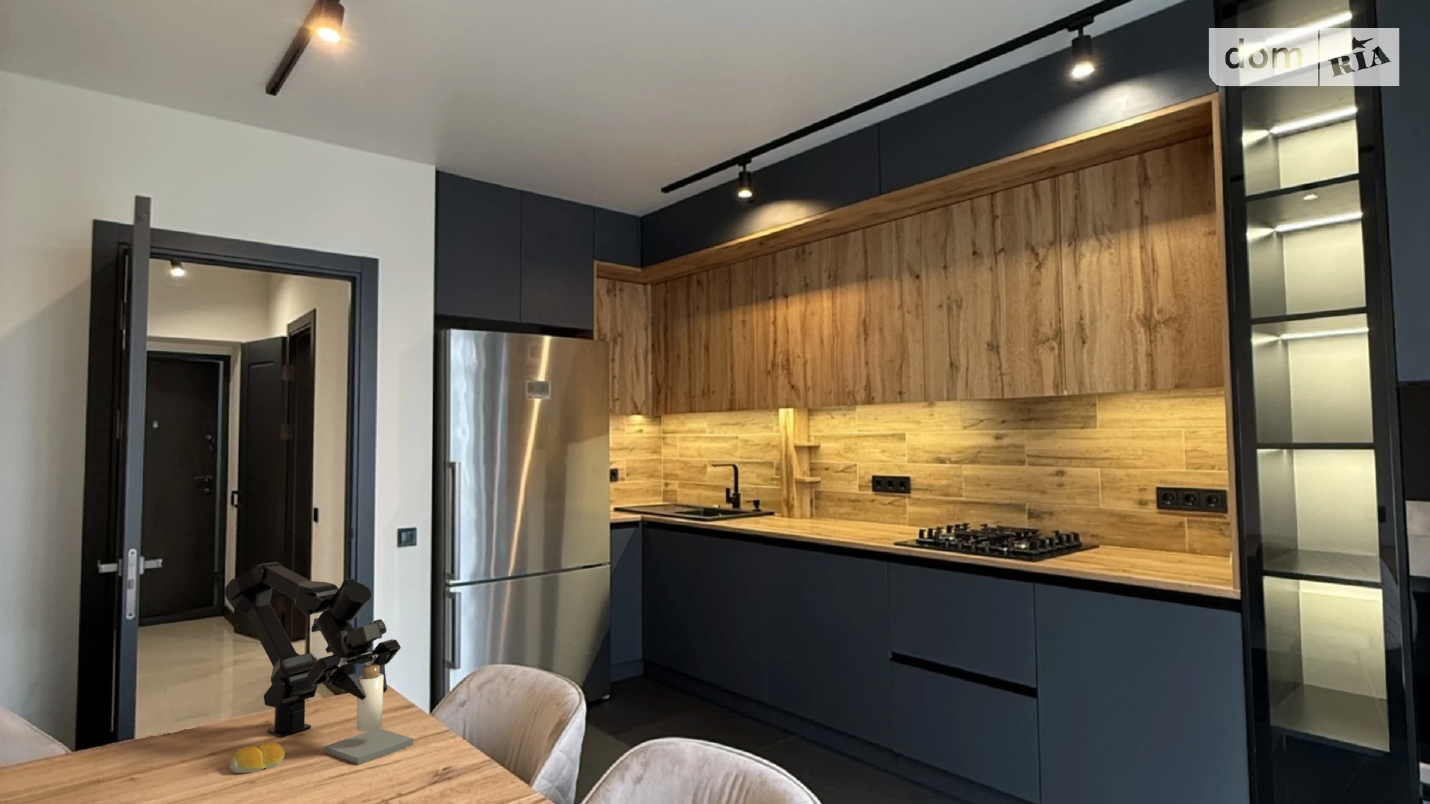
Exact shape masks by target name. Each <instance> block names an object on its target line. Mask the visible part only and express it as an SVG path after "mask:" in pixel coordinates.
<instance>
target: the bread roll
mask: <svg viewBox="0 0 1430 804" xmlns="http://www.w3.org/2000/svg"><path fill="white" fill-rule="evenodd" d="M285 755H286V752H285V749H284V747H283V746H282V745H281V744H280V743H277V742H267V743H262V744H259V745H258V744H257V746H251V745H250V746H245V747H241V748H240V749H238V750H237V751H235V752H234V753H233V755H232V757H231V762H230V764H229V766H228V767H229V769H230V771H231V772H232V773H234V774H237V773H242V774H250V772H252V773H254V772H255V771H256V772H258V770H260V771H262V770H265V769H264V768H268V769H270V768H269V767H271V768H274V767H277V766H278V765H279V764H280V763H281V762H282V761H283V760H284V758H285ZM276 765H277V766H276ZM256 772H255V773H256Z"/></svg>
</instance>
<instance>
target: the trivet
mask: <svg viewBox="0 0 1430 804" xmlns="http://www.w3.org/2000/svg"><path fill="white" fill-rule="evenodd" d="M413 745H414V738H413V737H409V736H406V735H403V734H399V733H397V732H393V731H391V730H387V729H383V728H381V727H380V728H378V729H375V730H371V731H364V732H362V733H360V734H358V735H354V736H351V737H348V738H345V739H342V740H338V741H336V742H332V743H329V744H326V745H324V746H323V753H324V752H325V754H327V753H329V754H328V755H330V754H332V755H331V756H333V757H335V756H338V757H340V758H339V759H341V758H343V759H342V760H344V759H345V760H344V761H347V760H349V761H350V763H352V762H353V763H352V764H355V763H357V764H356V765H358V766H359V765H362V764H365V763H368V762H370V761H373V760H376V759H378V758H381V757H383V756H386V755H389V754H392V753H394V752H397V751H399V750H403V749H405V747H406V748H408V747H410V746H413ZM407 746H408V747H407ZM380 756H381V757H380ZM338 757H337V758H338ZM375 758H376V759H375ZM369 760H370V761H369ZM349 761H348V762H349ZM367 761H368V762H367ZM361 763H362V764H361Z"/></svg>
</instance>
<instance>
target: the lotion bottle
mask: <svg viewBox="0 0 1430 804" xmlns="http://www.w3.org/2000/svg"><path fill="white" fill-rule="evenodd" d="M361 670H362V674H361V675H360V676H359V677H357V679H358V681H359V682H360V684H361V686H362V688H363V690H364V692H365V695H366V697H365V698H364V699H363V700H361V699H359V698H357V697H356V698H357V699H356V722H355V723H356V724H355V725H356V726H355V730H356V731H359V732H368V731H371V730H375V729H378V728H381V727H382V726H383V709H384V708H383V706H384V693H383V678H384V675H383V674H379V670H380V666H379V665H368V666H366V665H364V666H363V667H362V669H361Z"/></svg>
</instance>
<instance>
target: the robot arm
mask: <svg viewBox="0 0 1430 804" xmlns="http://www.w3.org/2000/svg"><path fill="white" fill-rule="evenodd" d="M273 589H274V590H276V591H278V592H280V593H282V594H283V595H285V596H287V597H290V598H291V599H292V600H294V606H295V607H296V608H297V609H298V610H299V611H300V612H301V613H302V614H304V615H305V616H308V615H309V616H310V615H314V614H319V613H321V614H320V615H318V617H317V618H314V619H313V624H312V625H311V630H310V631H311V633H316V632H320V633H321V635H322V637H323V639H324V640H325V642H326V644H327V647H326V648H325V649H324V650H325V651H326V654H330V653H332V654H331V655H329V656H324V657H320V658H318V660H317V661H316V662H314V660H313V657H312V655H310V653H308V652H307V653H303V654H299V653H298V652H297V651H296V649H295V648H294V647H295V646H293V644H292V642H291V639H290V638H289V637H288V634H287V633H286V631H285V629H284V627H283V625H282V623H281V622H280V620H279V618H278V616H277V613H276V612H275V610H274V608H273V607H272V605H271V600H272V596H273V595H272V594H273ZM224 596H225V598H226V600H227V602H228V603H229V604H230V605H231V607H232V609H234V610H236V611H238V612H239V613H240V614H243V615H245V616H246V617H247V619H248V621H249V622H250V624H251V626H252V628H253V631H254V632H255V634H256V636H257V638H258V640H259V642H260V644H261V645H262V647H263V649H264V651H265V652H264V653H265V654H266V655H267V657H268V659H269V661H270V663H271V665H272V671H271V676H270V683H271V685H270V687H269V688H268V689H267V690H266V692H265V693H264V694H263V701H264V705H265V706H266V707H272V708H274V723H273V724H274V726H273V727H270V728H267V729H266V732H268V733H269V734H273V735H275V736H278V737H286V736H290V735H293V734H296V733H298V732H302V731H305V730H308V729H311V728H312V725H311V724H309V723H306V719H305V718H306V717H305V716H306V700H307V699H310V698H315V696H316V692H317V689H318V686H319V685H322V684H324V683H325V682H326V680H327V675H328V677H329V680H328V681H327V682H326V684H327V686H334V687H336V688H339V689H341V690H343V691H345V692H347V693H348V694H350V695H352V696H354V697H356V698H359V699H361V700H363V699H364V698H365V697H366V695H365V692H364V690H363V688H362V686H361V684H360V682H359V681H358V677H357V674H356V673H355V667H356V666H358V665H362V664H364V665H365V666H368V665H379V666H380V670H379V674H383V675H384V678H383V694H384V693H386V692H387V690H388V685H387V676H386V665H387V664H389V663H390V662H391V660H392V659H393V658H394V657H395V656H396V655H397V653H398V652H399V651H400V649H402V646H401V645H400V643H399V642H398V640H397V639H394V638H391V639H388V640H385V641H380V642H379V643H378V644H377V645H376V646H375V648H374V649H373V650H372V651H368V650H369V649H370V648H371V647H373V644H374V643H373V642H375V641H376V640H378V639H379V640H380V639H382V638H383V635H384V634H386V633H387V626H386V624H385V622H384V621H383V620H382V619H381V618H380V619H376V620H373V621H371V622H370V623H369V624H367V625H363V626H358V627H357V626H356V627H354V625H353V623H352V622H351V620H354V619H356V618H357V616H358V615H360V613H361V611H362V610H363V609H364V607H366V605H367V604H368V603H369V601H370V600H371V598H372V592H371V590H370V588H369V587H367V586H366V585H365V584H363V583H360V582H356V581H355V578H353V577H352V578H348V579H344V580H343V581H342V583H341V585H340V587H338V585H336V584H334V583H331V582H327V581H315V580H310V579H308V578H306V577H304V576H302V575H300V574H299V573H296V572H294V571H292V570H291V569H289V568H287V567H284V566H283V565H282V564H281V562H276V561H275V562H267V563H261V564H258V565H256V566H255V567H253V568H252V569H251V570H248V571H247V572H244V573H242V574H240V575H238V576H236V577H234V578H232V579H231V580H229V582H228V583H227V584H226V585H225V587H224Z"/></svg>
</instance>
